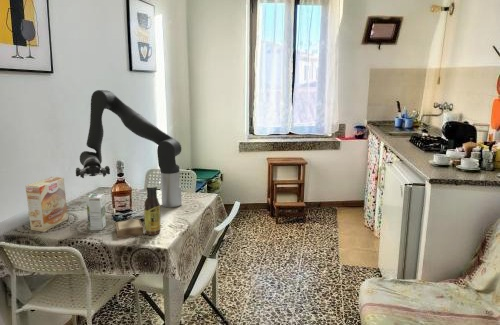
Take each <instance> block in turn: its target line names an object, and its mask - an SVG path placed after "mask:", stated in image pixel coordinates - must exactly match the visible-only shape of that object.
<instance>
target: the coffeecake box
mask: <svg viewBox="0 0 500 325" xmlns="http://www.w3.org/2000/svg"><path fill="white" fill-rule="evenodd" d="M25 193H26V201H27V209H28V217H29V223H30V224H29V225H30V231H37V232H47V231H48V230H51V229H52V228H54V227H56V226H57V225H59V224H62V223H63V222H65V221H67V220H68V219H69V217H68V208H67V199H66V188H65V178H64V177H57V176H56V177H55V176H50V177H46V178H45V179H41V180H39V181H36V182H33V183H30V184H27V185H25Z"/></svg>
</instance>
